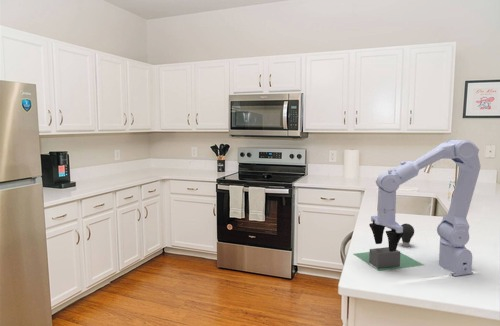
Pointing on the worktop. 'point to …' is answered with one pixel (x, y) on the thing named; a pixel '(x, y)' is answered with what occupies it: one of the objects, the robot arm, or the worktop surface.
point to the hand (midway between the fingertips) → (385, 247)
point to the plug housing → (384, 258)
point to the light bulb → (407, 234)
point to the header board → (404, 263)
